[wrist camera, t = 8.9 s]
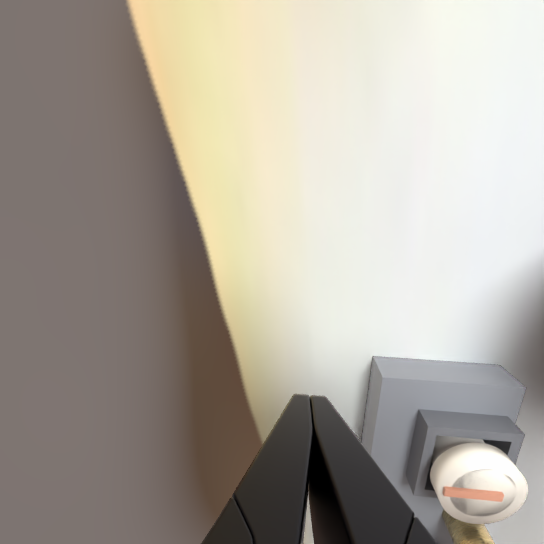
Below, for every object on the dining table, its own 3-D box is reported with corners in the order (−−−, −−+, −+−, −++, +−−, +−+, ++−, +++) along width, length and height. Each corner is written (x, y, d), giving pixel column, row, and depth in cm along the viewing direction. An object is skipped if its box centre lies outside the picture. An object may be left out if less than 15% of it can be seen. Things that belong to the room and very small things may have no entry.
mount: (499, 365, 21) (545, 404, 17) (443, 569, 27) (468, 633, 23) (373, 356, 21) (389, 392, 18) (344, 557, 27) (352, 618, 23)
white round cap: (478, 396, 21) (541, 467, 16) (464, 449, 23) (518, 531, 17) (410, 391, 22) (449, 459, 16) (401, 443, 23) (433, 523, 18)
